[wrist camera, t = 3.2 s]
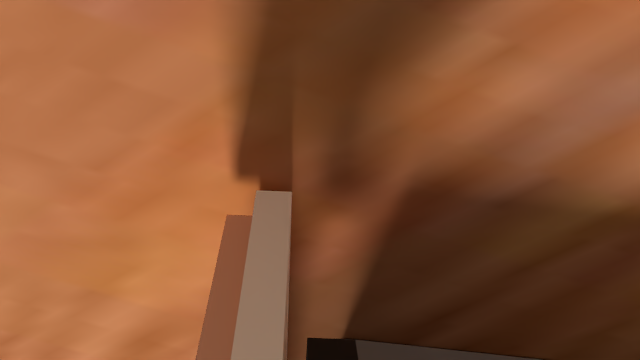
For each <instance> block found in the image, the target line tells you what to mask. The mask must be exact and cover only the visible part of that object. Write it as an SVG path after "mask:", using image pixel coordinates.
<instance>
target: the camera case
mask: <svg viewBox="0 0 640 360" xmlns="http://www.w3.org/2000/svg"><path fill="white" fill-rule="evenodd" d="M356 347H357V354H358V360H541V359H531V358H522V357H513V356H503V355H494V354H485V353H475V352H466V351H457V350H447V349H438V348H429V347H419V346H410V345H401V344H391V343H382V342H373V341H363V340H356Z"/></svg>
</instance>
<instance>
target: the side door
mask: <svg viewBox="0 0 640 360" xmlns="http://www.w3.org/2000/svg"><path fill="white" fill-rule="evenodd" d="M291 212H292V192H285V191H259V190H256V197H255V203H254V210H253V216H245V215H227V217H226V221H225V226H224V231H223V235H222V240H221V244H220V249H219V254H218V258H217V263H216V268H215V272H214V277H213V281H212V286H211V291H210V295H209V300H208V304H207V309H206V314H205V318H204V323H203V328H202V332H201V337H200V341H199V346H198V351H197V355H196V360H287V345H288V311H289V278H290V245H291Z"/></svg>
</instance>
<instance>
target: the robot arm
mask: <svg viewBox="0 0 640 360" xmlns="http://www.w3.org/2000/svg"><path fill="white" fill-rule="evenodd" d="M306 360H358V354H357V347H356V340H355V339H322V338H307V354H306Z"/></svg>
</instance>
